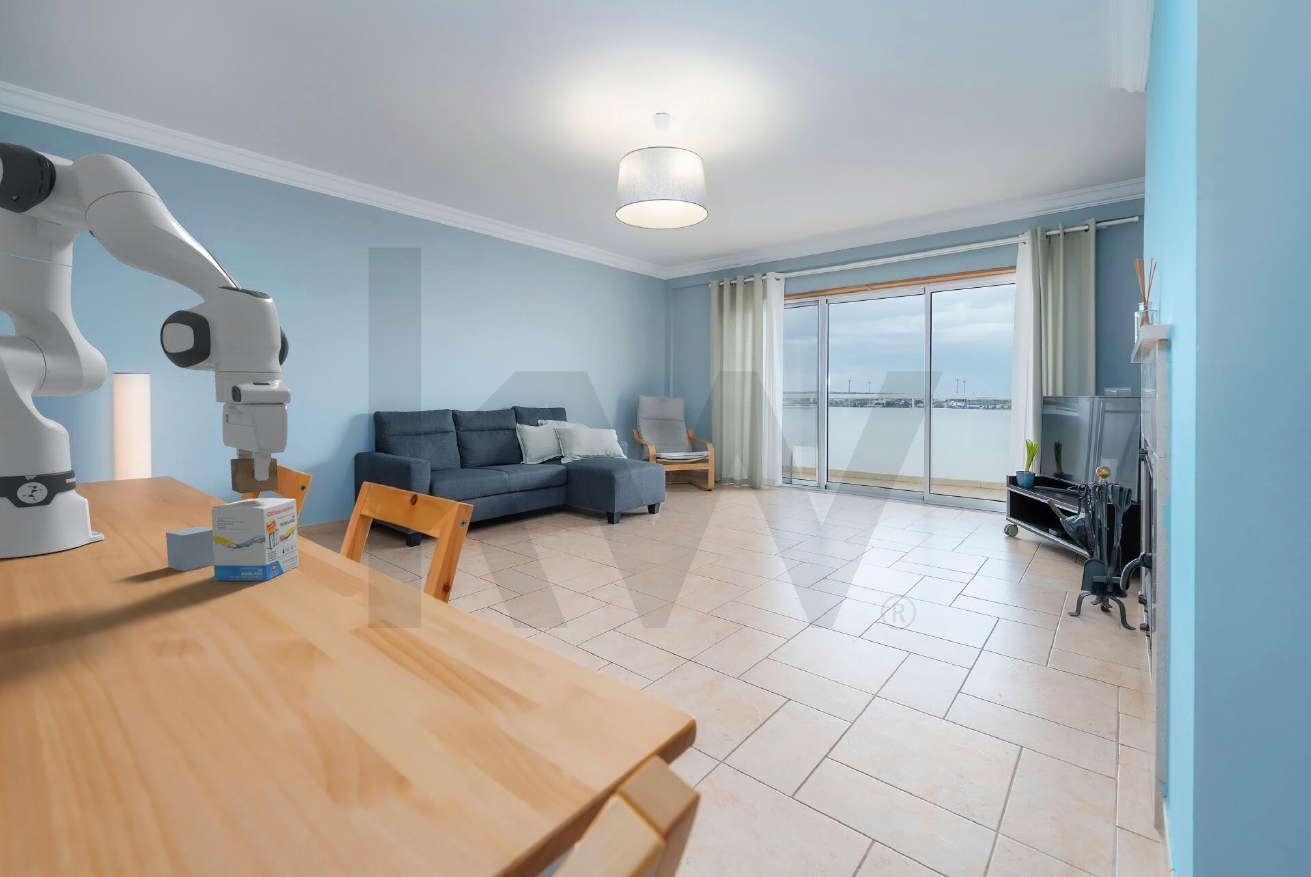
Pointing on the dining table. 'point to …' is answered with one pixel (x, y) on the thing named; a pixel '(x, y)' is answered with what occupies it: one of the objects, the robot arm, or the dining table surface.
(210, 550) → the slate block
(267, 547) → the ink box
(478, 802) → the dining table surface
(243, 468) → the walnut block
